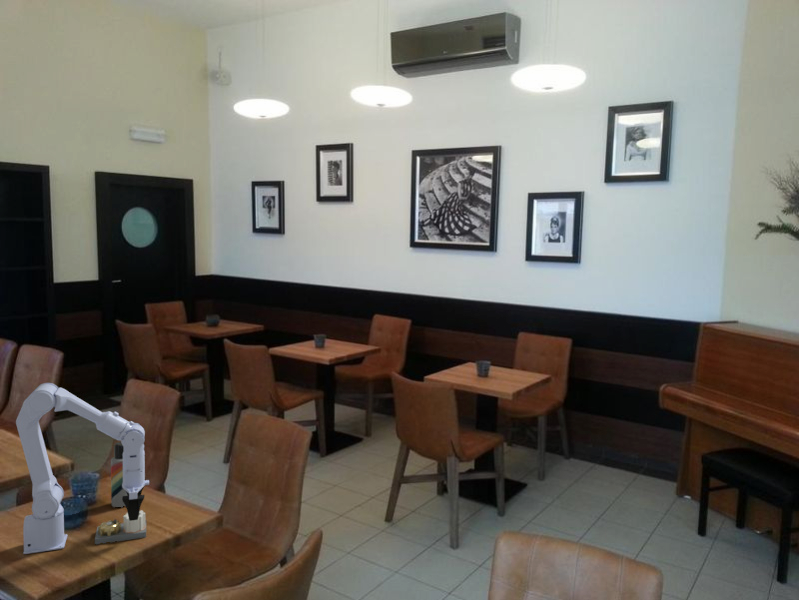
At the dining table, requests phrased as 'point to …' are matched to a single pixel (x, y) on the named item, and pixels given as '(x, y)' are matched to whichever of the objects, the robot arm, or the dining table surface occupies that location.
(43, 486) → the robot arm
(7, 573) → the dining table surface
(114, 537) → the board
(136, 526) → the loose gear
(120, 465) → the lotion bottle
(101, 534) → the gear
